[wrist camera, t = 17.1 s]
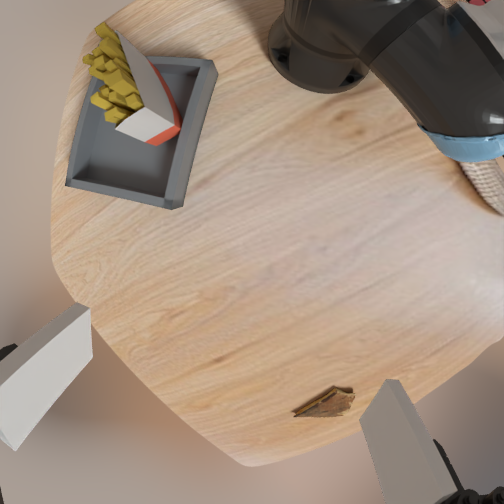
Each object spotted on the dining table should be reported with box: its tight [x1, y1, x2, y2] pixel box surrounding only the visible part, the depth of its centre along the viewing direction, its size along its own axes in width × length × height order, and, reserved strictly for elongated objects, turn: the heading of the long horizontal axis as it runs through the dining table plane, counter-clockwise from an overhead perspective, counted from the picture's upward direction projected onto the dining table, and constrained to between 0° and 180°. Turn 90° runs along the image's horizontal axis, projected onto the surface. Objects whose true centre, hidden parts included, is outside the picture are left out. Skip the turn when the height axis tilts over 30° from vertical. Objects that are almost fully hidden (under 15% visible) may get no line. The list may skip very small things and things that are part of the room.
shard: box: [293, 388, 356, 417], centre depth 44 cm, size 11×8×2 cm
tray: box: [65, 56, 218, 210], centre depth 32 cm, size 20×18×5 cm
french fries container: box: [83, 22, 183, 146], centre depth 24 cm, size 5×11×18 cm, turn 24°
